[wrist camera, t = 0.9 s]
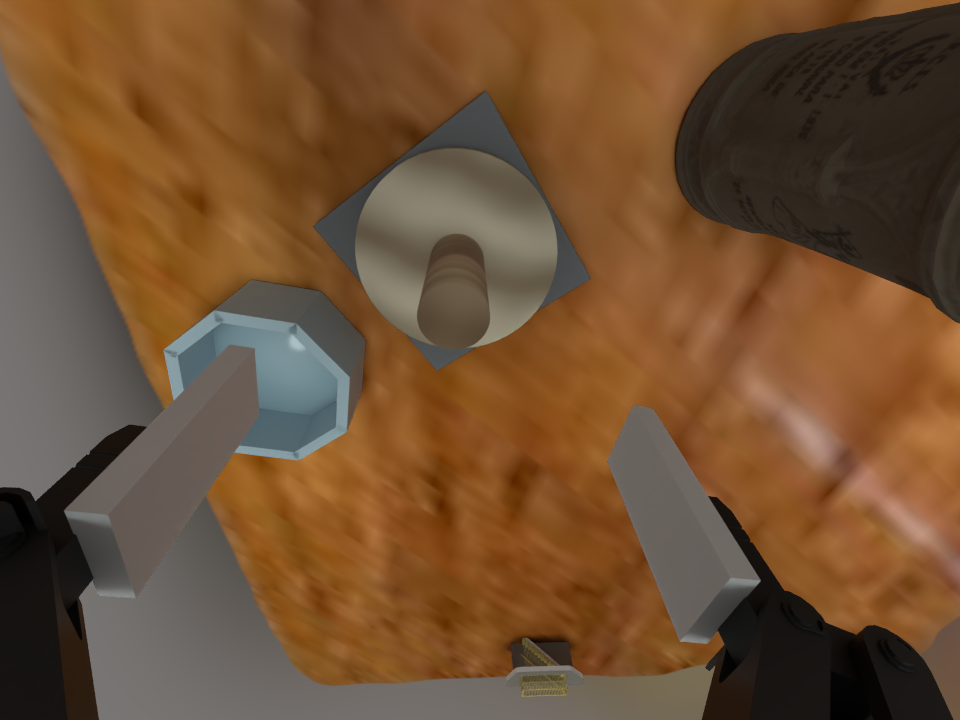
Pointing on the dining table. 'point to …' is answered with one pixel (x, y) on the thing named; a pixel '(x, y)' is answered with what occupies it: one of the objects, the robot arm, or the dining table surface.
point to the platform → (542, 666)
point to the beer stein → (840, 146)
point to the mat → (468, 130)
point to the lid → (456, 248)
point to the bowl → (281, 364)
